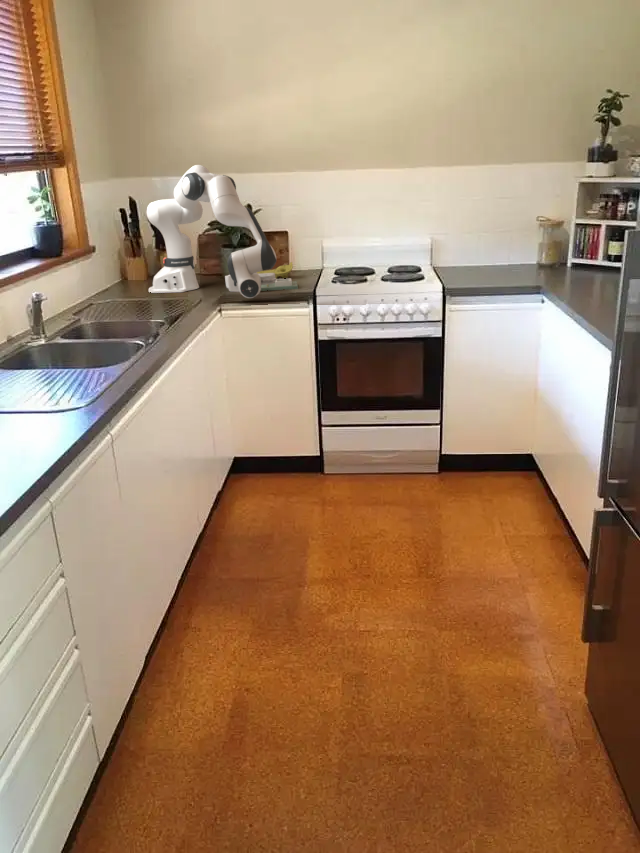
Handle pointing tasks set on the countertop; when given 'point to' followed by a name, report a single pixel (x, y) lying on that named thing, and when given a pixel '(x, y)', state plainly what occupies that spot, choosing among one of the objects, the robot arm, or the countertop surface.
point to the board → (280, 285)
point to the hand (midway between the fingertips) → (250, 276)
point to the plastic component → (280, 271)
